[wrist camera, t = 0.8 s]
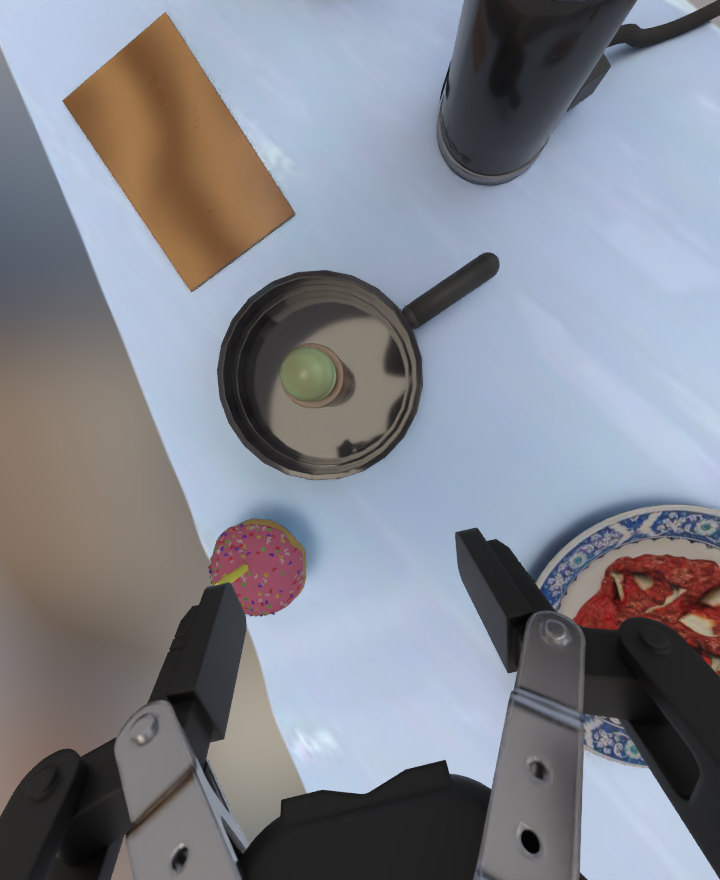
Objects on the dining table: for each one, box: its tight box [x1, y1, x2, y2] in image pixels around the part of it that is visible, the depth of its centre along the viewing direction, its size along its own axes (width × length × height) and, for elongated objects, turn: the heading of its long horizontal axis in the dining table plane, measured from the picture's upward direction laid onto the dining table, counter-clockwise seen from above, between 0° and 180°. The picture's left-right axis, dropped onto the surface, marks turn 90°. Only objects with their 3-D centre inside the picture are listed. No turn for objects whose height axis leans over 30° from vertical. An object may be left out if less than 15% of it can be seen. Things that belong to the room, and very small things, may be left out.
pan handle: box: [401, 252, 499, 329], centre depth 29 cm, size 9×2×2 cm, turn 123°
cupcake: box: [209, 519, 306, 616], centre depth 30 cm, size 9×8×12 cm
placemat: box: [63, 12, 295, 292], centre depth 32 cm, size 12×20×1 cm, turn 33°
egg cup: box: [280, 343, 351, 408], centre depth 28 cm, size 5×5×10 cm
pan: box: [217, 270, 423, 480], centre depth 32 cm, size 17×17×4 cm
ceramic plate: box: [535, 504, 720, 768], centre depth 33 cm, size 26×26×3 cm
